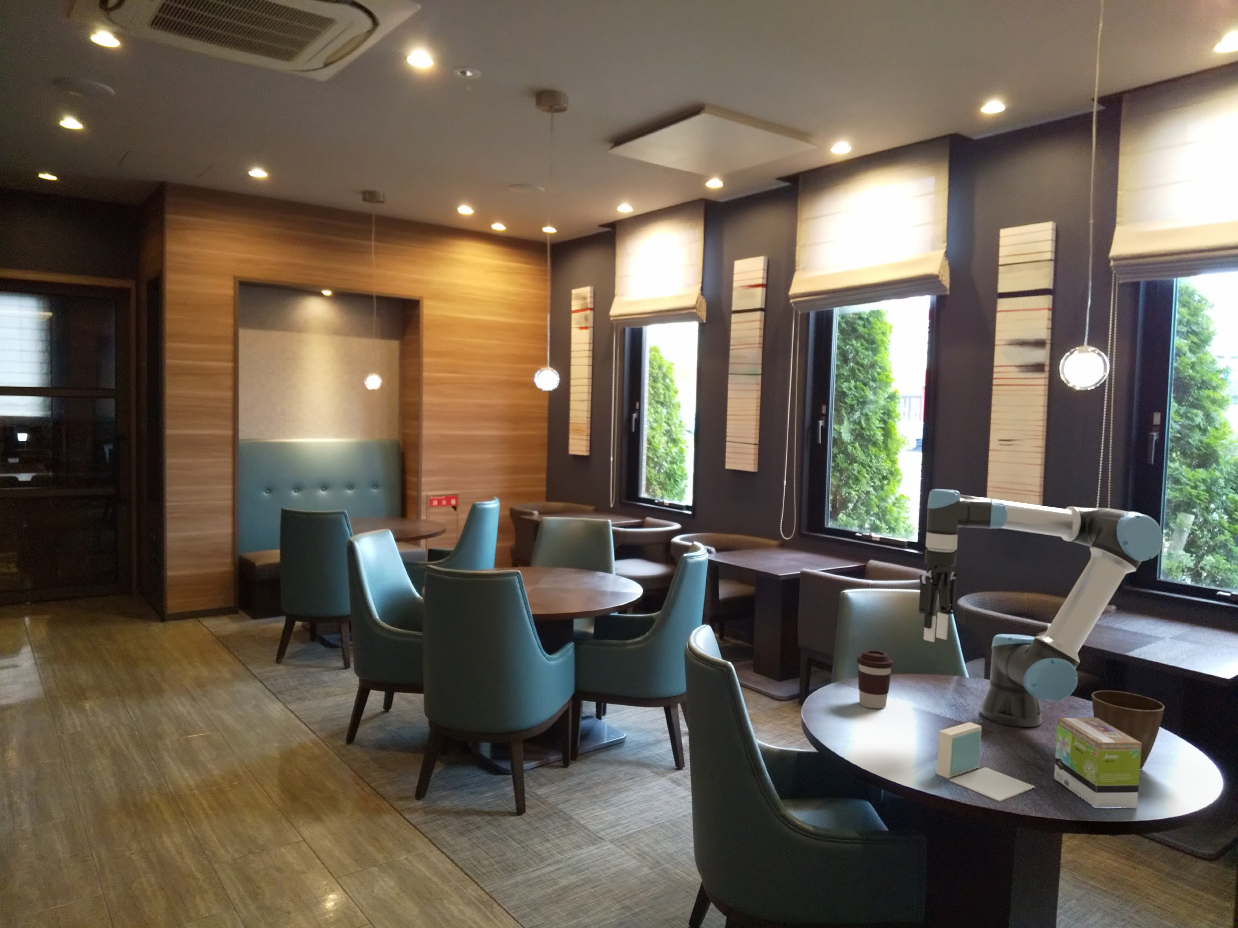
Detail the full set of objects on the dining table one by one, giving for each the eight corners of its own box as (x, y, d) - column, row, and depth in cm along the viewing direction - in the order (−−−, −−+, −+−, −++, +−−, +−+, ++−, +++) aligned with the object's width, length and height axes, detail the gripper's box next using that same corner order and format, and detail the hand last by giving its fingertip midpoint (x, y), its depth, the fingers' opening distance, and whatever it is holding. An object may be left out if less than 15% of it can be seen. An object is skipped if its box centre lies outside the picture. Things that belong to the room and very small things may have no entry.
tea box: (1051, 779, 193) (1056, 715, 192) (1093, 779, 194) (1097, 716, 193) (1094, 809, 178) (1099, 740, 177) (1139, 809, 179) (1144, 741, 178)
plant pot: (1073, 757, 206) (1077, 693, 206) (1114, 750, 213) (1118, 687, 212) (1132, 782, 193) (1137, 713, 192) (1173, 773, 199) (1179, 706, 198)
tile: (967, 763, 200) (969, 721, 200) (980, 768, 197) (983, 726, 197) (936, 773, 193) (939, 730, 193) (949, 779, 191) (952, 735, 190)
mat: (985, 768, 197) (985, 766, 197) (1035, 787, 188) (1035, 786, 188) (949, 780, 189) (949, 779, 189) (999, 801, 180) (999, 800, 180)
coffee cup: (892, 712, 234) (895, 659, 233) (855, 708, 236) (858, 655, 235) (888, 701, 244) (891, 649, 243) (853, 697, 246) (856, 646, 245)
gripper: (948, 545, 225) (943, 632, 226) (906, 549, 215) (901, 639, 216) (974, 549, 219) (968, 638, 220) (932, 553, 209) (926, 646, 210)
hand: (935, 639), depth 218 cm, fingers open, 4 cm apart
